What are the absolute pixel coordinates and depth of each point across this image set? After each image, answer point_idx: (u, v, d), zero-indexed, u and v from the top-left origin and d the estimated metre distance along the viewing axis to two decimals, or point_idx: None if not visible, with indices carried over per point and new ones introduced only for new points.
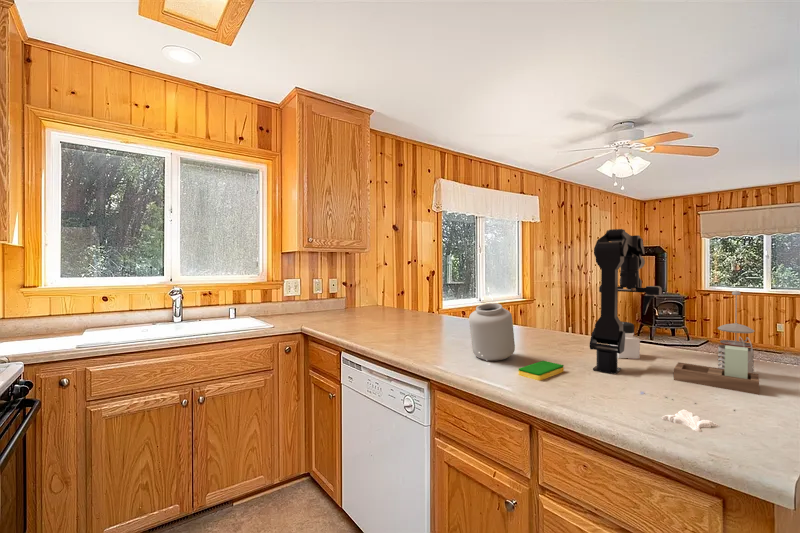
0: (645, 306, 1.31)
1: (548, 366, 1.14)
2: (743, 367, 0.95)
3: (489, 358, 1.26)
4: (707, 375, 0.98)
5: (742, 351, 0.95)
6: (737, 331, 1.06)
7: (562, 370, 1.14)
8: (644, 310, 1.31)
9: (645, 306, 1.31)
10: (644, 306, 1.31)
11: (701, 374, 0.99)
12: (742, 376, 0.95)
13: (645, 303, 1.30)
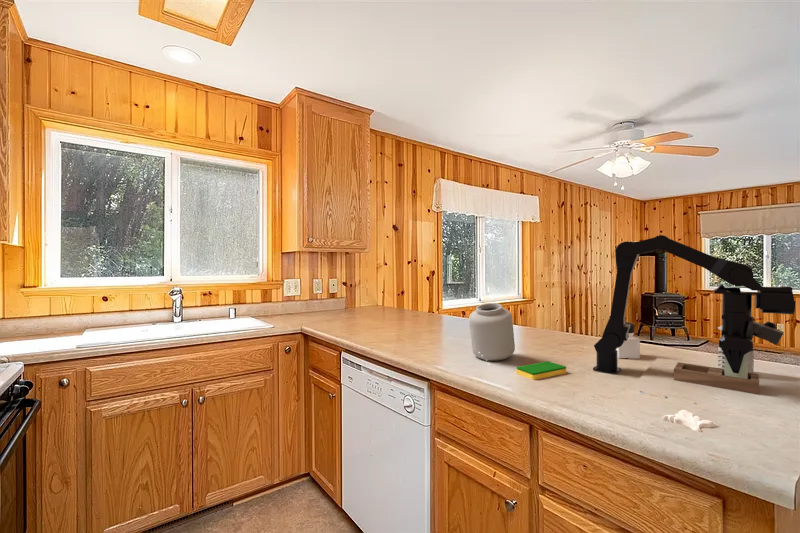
0: (727, 360, 0.96)
1: (548, 366, 1.13)
2: (743, 367, 0.95)
3: (489, 358, 1.26)
4: (707, 375, 0.98)
5: None
6: None
7: (564, 371, 1.13)
8: (730, 366, 0.96)
9: (728, 360, 0.96)
10: (727, 360, 0.97)
11: (701, 374, 0.99)
12: (742, 376, 0.95)
13: (725, 356, 0.97)
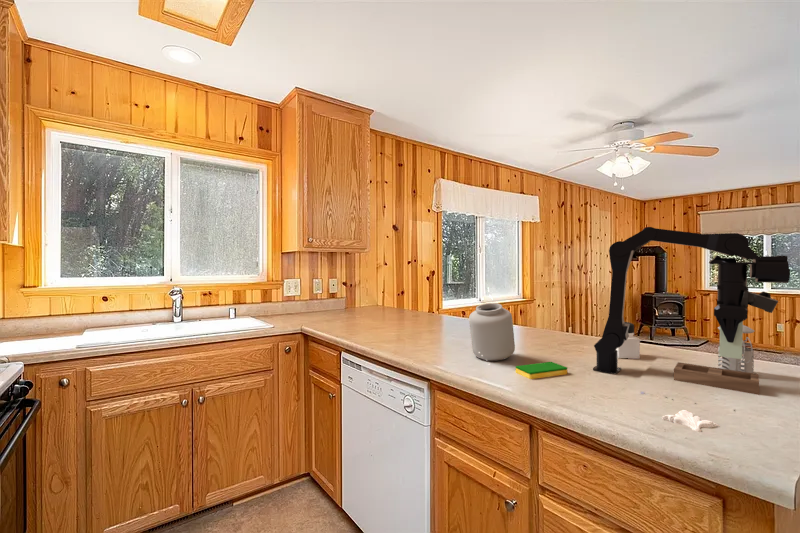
0: (722, 330, 0.97)
1: (549, 367, 1.13)
2: (738, 336, 0.96)
3: (489, 358, 1.26)
4: (707, 375, 0.98)
5: None
6: None
7: (565, 372, 1.12)
8: (725, 335, 0.97)
9: (723, 330, 0.97)
10: (722, 330, 0.97)
11: (701, 374, 0.99)
12: (737, 345, 0.96)
13: (720, 325, 0.97)
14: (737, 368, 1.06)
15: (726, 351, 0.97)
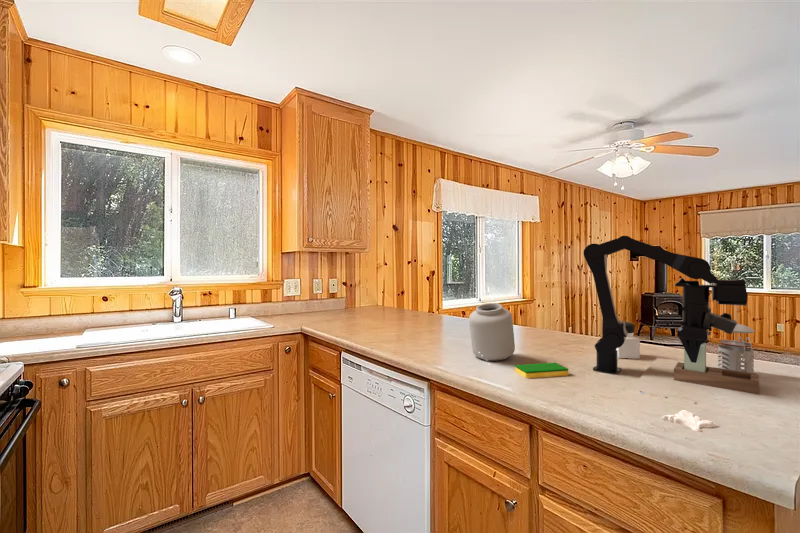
0: (686, 350, 1.01)
1: (549, 367, 1.13)
2: (700, 361, 1.01)
3: (489, 358, 1.26)
4: (707, 375, 0.98)
5: (700, 346, 1.01)
6: (737, 331, 1.06)
7: (565, 373, 1.11)
8: None
9: (686, 350, 1.01)
10: (686, 350, 1.01)
11: (701, 374, 0.99)
12: (700, 370, 1.01)
13: (684, 346, 1.01)
14: (737, 368, 1.06)
15: None
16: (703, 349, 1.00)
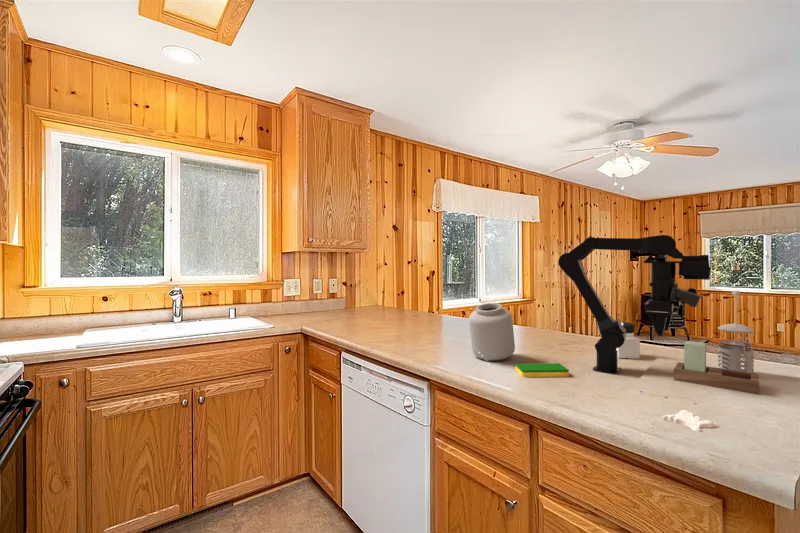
0: None
1: (548, 367, 1.12)
2: (700, 361, 1.01)
3: (489, 358, 1.26)
4: (707, 375, 0.98)
5: (700, 346, 1.01)
6: (737, 331, 1.06)
7: (565, 375, 1.10)
8: None
9: (653, 324, 1.05)
10: (653, 324, 1.05)
11: (701, 374, 0.99)
12: (700, 370, 1.01)
13: None
14: (737, 368, 1.06)
15: None
16: (703, 349, 1.00)
